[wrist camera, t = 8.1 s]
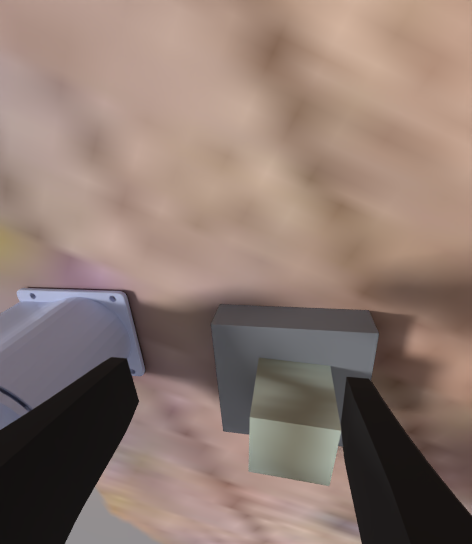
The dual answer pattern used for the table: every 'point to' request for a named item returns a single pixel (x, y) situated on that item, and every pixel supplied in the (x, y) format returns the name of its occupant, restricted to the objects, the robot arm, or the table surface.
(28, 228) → the table surface
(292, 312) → the grey base block
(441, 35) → the table surface
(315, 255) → the table surface
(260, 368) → the green cube
